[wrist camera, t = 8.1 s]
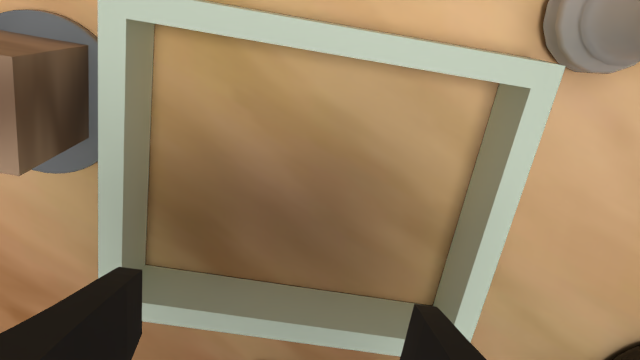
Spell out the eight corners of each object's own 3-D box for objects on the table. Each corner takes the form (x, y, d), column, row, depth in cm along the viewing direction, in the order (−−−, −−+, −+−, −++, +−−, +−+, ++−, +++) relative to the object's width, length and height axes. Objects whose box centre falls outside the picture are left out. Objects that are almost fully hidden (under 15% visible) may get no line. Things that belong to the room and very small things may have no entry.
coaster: (127, 179, 22) (121, 184, 21) (-26, 156, 21) (-35, 160, 21) (130, 25, 19) (124, 26, 19) (-42, -4, 19) (-53, -5, 18)
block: (89, 137, 20) (19, 175, 16) (-4, 122, 20) (-103, 157, 15) (88, 45, 19) (12, 57, 14) (-11, 28, 19) (-122, 34, 14)
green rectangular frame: (446, 324, 24) (462, 364, 22) (124, 278, 24) (98, 315, 21) (530, 57, 20) (565, 66, 17) (131, -13, 19) (97, -17, 16)
